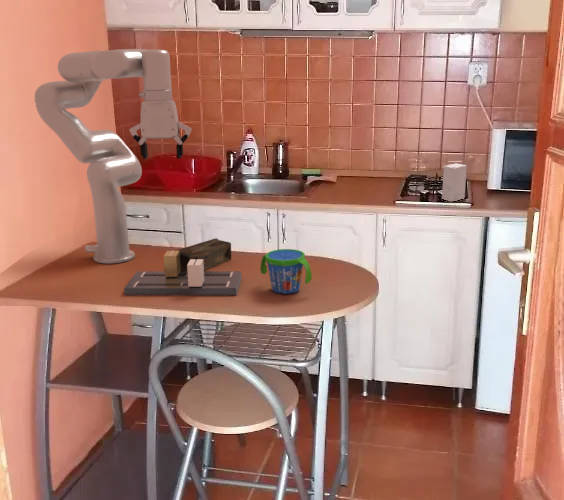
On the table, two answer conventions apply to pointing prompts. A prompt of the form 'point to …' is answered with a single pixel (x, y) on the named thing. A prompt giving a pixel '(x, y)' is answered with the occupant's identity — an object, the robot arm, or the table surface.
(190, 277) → the block
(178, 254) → the block
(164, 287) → the dark grey flat board
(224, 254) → the beverage carton
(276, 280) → the snack cup
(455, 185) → the skincare box
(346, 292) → the table surface
